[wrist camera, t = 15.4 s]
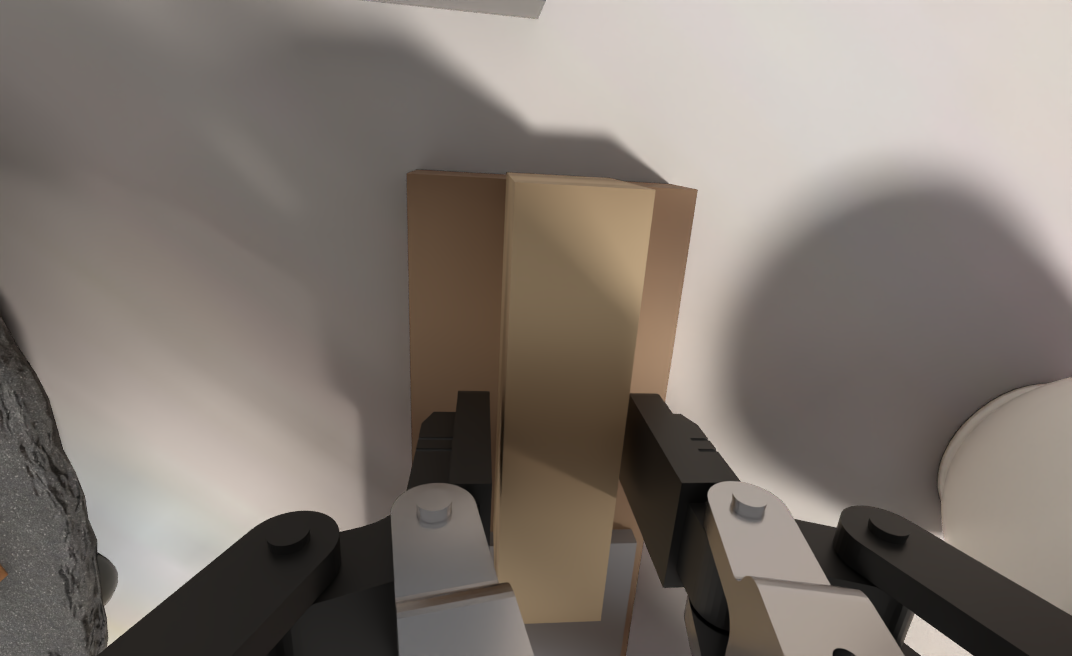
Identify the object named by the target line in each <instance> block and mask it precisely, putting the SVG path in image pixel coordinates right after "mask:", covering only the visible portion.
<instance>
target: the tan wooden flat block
mask: <svg viewBox="0 0 1072 656" xmlns="http://www.w3.org/2000/svg"><path fill="white" fill-rule="evenodd" d="M624 182H626V181H624ZM628 183H631V184H635V185H639V186H643V187H647V188H651V189H654V190H656V191H655V199H654V207H653V215H652V223H651V230H650V238H649V246H648V254H647V262H646V270H645V277H644V285H643V293H642V301H641V309H640V317H639V324H638V332H637V340H636V348H635V356H634V364H633V371H632V379H631V387H630V393H658V394H659V395H660V396H661V398H662V399H663V400H664V402H665V398H666V392H667V385H668V379H669V372H670V366H671V359H672V353H673V346H674V340H675V333H676V327H677V320H678V314H679V308H680V301H681V295H682V288H683V282H684V275H685V269H686V262H687V256H688V249H689V243H690V236H691V230H692V223H693V217H694V210H695V204H696V197H697V191H698V190H697V189H692V188H687V187H682V186H677V185H673V184H661V183H644V182H628ZM505 195H506V175H504V174H486V173H469V172H451V171H434V170H414V171H412V172H409V173H407V221H408V273H409V325H410V377H411V429H412V465H413V460H414V455H415V451H416V446H417V442H418V439H419V433H420V428H421V423H422V422H423V421H424V420H426V419H427V418H428V417H429V416H430V415H431V414H432V413H433V412H456V405H457V395H458V391H490V425H491V461H492V499H491V524H490V532H493V510H494V484H495V458H496V431H497V405H498V379H499V353H500V326H501V300H502V274H503V247H504V221H505ZM615 529H632V532H633V534H634V537H635V539H636V542H637V546H636V553H635V560H634V567H633V573H632V580H631V587H630V594H629V600H628V607H627V614H626V621H625V628H624V634H623V641H622V648H621V655H620V656H626V651H627V644H628V638H629V631H630V625H631V619H632V612H633V606H634V599H635V593H636V586H637V580H638V573H639V567H640V560H641V554H642V547H643V541H644V539H643V537H642V534H641V532H640V529H639V527H638V525H637V522H636V520H635V517H634V515H633V512H632V510H631V507H630V505H629V502H628V500H627V497H626V495H625V493H624V490H623V488H622V485H621V483H620V480H619V481H618V489H617V497H616V505H615V512H614V520H613V528H612V530H615Z"/></svg>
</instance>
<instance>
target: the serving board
mask: <svg viewBox="0 0 1072 656" xmlns="http://www.w3.org/2000/svg"><path fill="white" fill-rule="evenodd" d="M117 583H118V573H117V570H116V568H115V566H114V565H113V564H112V563H111V562H110V561H109V560H108V559H106V558H105V557H103V556H102V555H99V554H97V539H96V536H95V534H94V531H93V529H92V527H91V524H90V522H89V520H88V514H87V507H86V500H85V495H84V493H83V490H82V488H81V485H80V483H79V480H78V477H77V475H76V472H75V471H74V469H73V467H72V465H71V463H70V461H69V459H68V457H67V456H66V454H65V452H64V450H63V447H62V444H61V440H60V437H59V433H58V429H57V426H56V422H55V419H54V415H53V412H52V408H51V405H50V401H49V398H48V396H47V394H46V392H45V390H44V388H43V386H42V384H41V382H40V381H39V379H38V377H37V375H36V373H35V371H34V370H33V368H32V367H31V365H30V364H29V362H28V361H27V360H26V358H25V357H24V355H23V354H22V352H21V351H20V349H19V348H18V346H17V344H16V343H15V341H14V339H13V337H12V335H11V334H10V332H9V330H8V328H7V327H6V325H5V323H4V321H3V319H2V318H1V316H0V656H97V655H98V654H99V653H101V652H102V651H103V650H104V649H106V648H107V641H108V630H107V617H106V613H105V609H104V606H105V605H106V604H107V603H108V601H109V600H110V599H111V597H112V595H113V593H114V591H115V589H116V587H117Z"/></svg>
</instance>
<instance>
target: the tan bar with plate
mask: <svg viewBox="0 0 1072 656" xmlns="http://www.w3.org/2000/svg"><path fill="white" fill-rule="evenodd" d="M655 191H656V190H654V189H651V188H647V187H643V186H639V185H635V184H631V183H628V182H624V181H620V180H616V179H612V178H600V177H582V176H564V175H546V174H528V173H511V172H506V195H505V221H504V247H503V274H502V300H501V326H500V353H499V379H498V405H497V431H496V458H495V484H494V510H493V532H490V554H491V557H492V561H493V564H494V568H495V571H496V575H497V578H498V581H499V583H504V582H508V583H510V585H511V587H512V589H513V591H514V594H515V597H516V600H517V603H518V606H519V610H520V613H521V616H522V619H523V622H524V625H525V629H526V632H527V635H528V638H529V641H530V645H531V648H532V651H533V654H534V656H620V655H621V648H622V641H623V634H624V628H625V621H626V614H627V607H628V600H629V594H630V587H631V580H632V573H633V567H634V560H635V553H636V546H637V542H636V539H635V537H634V534H633V532H632V529H615V530H612V528H613V520H614V512H615V505H616V497H617V489H618V481H619V473H620V465H621V458H622V450H623V442H624V434H625V426H626V418H627V411H628V403H629V395H630V387H631V379H632V371H633V364H634V356H635V348H636V340H637V332H638V324H639V317H640V309H641V301H642V293H643V285H644V277H645V270H646V262H647V254H648V246H649V238H650V230H651V223H652V215H653V207H654V199H655Z"/></svg>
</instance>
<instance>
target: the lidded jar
mask: <svg viewBox="0 0 1072 656" xmlns="http://www.w3.org/2000/svg"><path fill="white" fill-rule="evenodd" d="M937 488H938V493H939V497H940V500H941V519H942V530H943V535H944V540H945V542H946V543H948V544H950V545H952V546H953V547H955V548H957V549H958V550H960V551H962V552H964V553H965V554H967V555H969V556H970V557H972V558H974V559H976V560H977V561H979V562H981V563H982V564H984V565H986V566H988V567H989V568H991V569H993V570H994V571H996V572H998V573H1000V574H1001V575H1003V576H1005V577H1006V578H1008V579H1010V580H1012V581H1013V582H1015V583H1017V584H1018V585H1020V586H1022V587H1024V588H1025V589H1027V590H1029V591H1030V592H1032V593H1034V594H1036V595H1037V596H1039V597H1041V598H1042V599H1044V600H1046V601H1048V602H1049V603H1051V604H1053V605H1054V606H1056V607H1058V608H1060V609H1061V610H1063V611H1065V612H1067V613H1068V614H1070V615H1072V377H1069V378H1065V379H1062V380H1058V381H1055V382H1051V383H1048V384H1036V385H1029V386H1025V387H1022V388H1018V389H1015V390H1012V391H1010V392H1008V393H1005V394H1003V395H1001V396H999V397H997V398H996V399H994V400H992V401H990V402H989V403H987V404H986V405H985V406H983V407H982V408H981V409H979V410H978V411H977V412H976V413H974V414H973V415H972V416H971V417H970V418H969V419H968V420H967V421H966V422H965V423H964V424H963V425H962V426H961V427H960V429H959V430H958V431H957V432H956V434H955V435H954V437H953V438H952V439H951V441H950V442H949V444H948V446H947V448H946V450H945V452H944V454H943V457H942V460H941V462H940V465H939V471H938V476H937Z"/></svg>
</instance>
